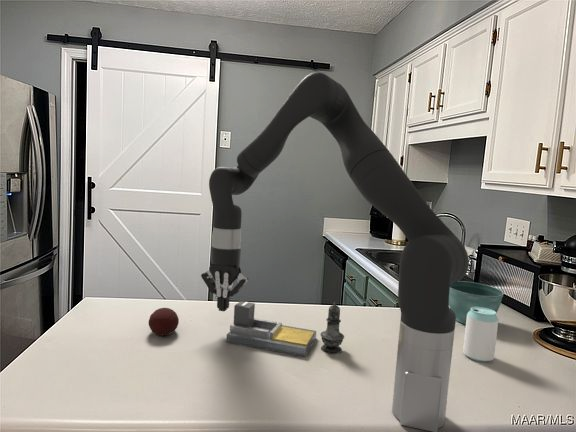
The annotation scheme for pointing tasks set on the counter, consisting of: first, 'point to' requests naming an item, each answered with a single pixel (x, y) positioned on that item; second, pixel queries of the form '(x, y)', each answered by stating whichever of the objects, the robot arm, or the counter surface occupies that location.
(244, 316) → the block
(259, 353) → the counter surface
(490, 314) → the can
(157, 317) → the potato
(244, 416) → the counter surface
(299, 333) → the board
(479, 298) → the teal bowl
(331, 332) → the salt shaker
